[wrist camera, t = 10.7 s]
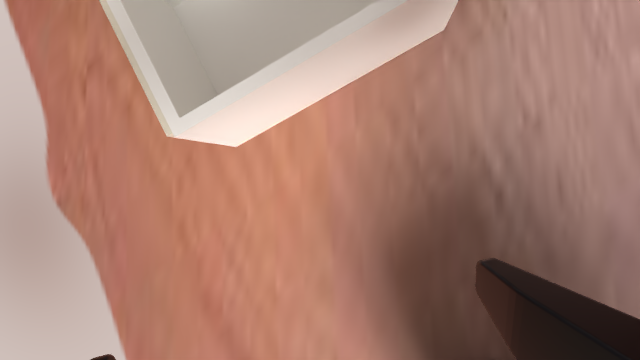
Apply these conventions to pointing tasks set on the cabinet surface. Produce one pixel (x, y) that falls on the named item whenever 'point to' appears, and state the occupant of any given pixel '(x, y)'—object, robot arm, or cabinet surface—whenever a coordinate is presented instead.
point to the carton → (259, 55)
